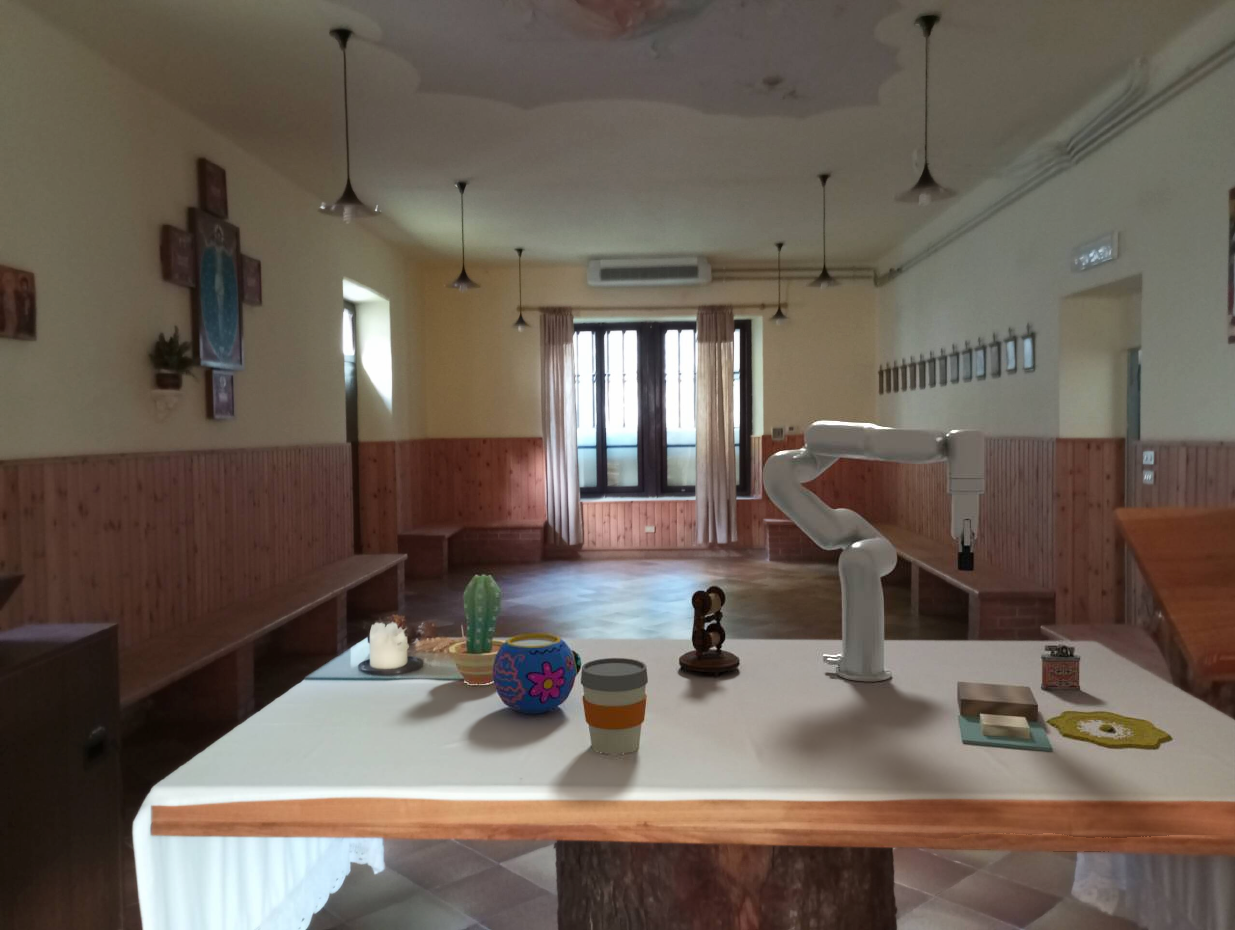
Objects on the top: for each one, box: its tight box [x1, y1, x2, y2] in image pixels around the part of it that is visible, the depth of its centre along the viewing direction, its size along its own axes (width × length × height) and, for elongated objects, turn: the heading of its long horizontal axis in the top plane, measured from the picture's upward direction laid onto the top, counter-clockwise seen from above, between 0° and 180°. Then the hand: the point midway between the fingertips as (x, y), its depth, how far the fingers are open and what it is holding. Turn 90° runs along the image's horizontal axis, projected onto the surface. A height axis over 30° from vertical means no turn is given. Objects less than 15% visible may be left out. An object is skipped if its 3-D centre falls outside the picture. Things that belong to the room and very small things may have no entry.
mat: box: [957, 714, 1053, 752], centre depth 163 cm, size 15×14×1 cm
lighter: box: [1040, 643, 1081, 693], centre depth 189 cm, size 8×3×10 cm, turn 84°
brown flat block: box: [956, 681, 1039, 722], centre depth 175 cm, size 14×12×4 cm
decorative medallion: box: [1046, 710, 1173, 750], centre depth 164 cm, size 20×20×1 cm
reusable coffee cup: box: [580, 657, 649, 755], centre depth 160 cm, size 13×12×15 cm
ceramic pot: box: [493, 633, 582, 714], centre depth 181 cm, size 18×18×15 cm
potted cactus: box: [448, 573, 507, 685], centre depth 203 cm, size 15×15×25 cm
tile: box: [980, 714, 1030, 739], centre depth 163 cm, size 8×6×2 cm
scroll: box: [678, 585, 741, 678], centre depth 209 cm, size 15×15×20 cm
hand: (965, 569), depth 187 cm, fingers closed
